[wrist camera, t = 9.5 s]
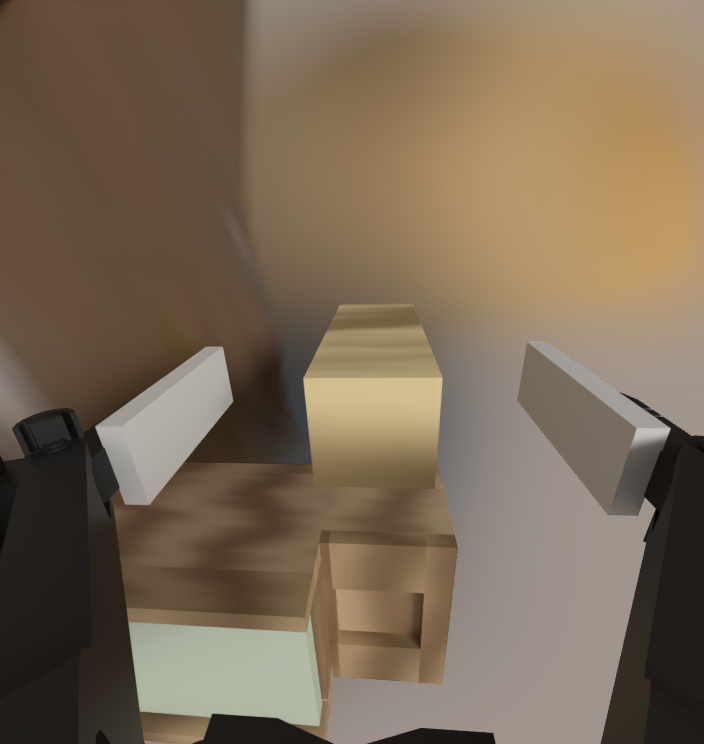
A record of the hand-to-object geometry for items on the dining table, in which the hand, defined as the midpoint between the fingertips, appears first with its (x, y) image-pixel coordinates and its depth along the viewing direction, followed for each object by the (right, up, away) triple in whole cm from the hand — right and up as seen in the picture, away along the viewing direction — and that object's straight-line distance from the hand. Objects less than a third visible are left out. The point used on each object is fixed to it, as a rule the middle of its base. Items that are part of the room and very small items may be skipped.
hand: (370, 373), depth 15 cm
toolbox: (-9, -12, +11) cm, 19 cm away
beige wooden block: (+1, +2, +5) cm, 5 cm away
